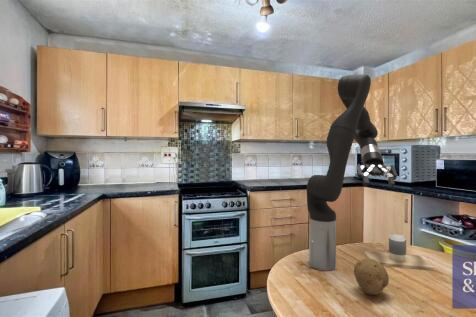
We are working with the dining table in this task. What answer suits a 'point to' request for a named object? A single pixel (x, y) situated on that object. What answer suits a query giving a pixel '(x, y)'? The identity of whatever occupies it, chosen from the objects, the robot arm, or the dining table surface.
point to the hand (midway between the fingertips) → (379, 185)
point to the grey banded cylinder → (397, 247)
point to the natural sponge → (371, 276)
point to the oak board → (409, 262)
